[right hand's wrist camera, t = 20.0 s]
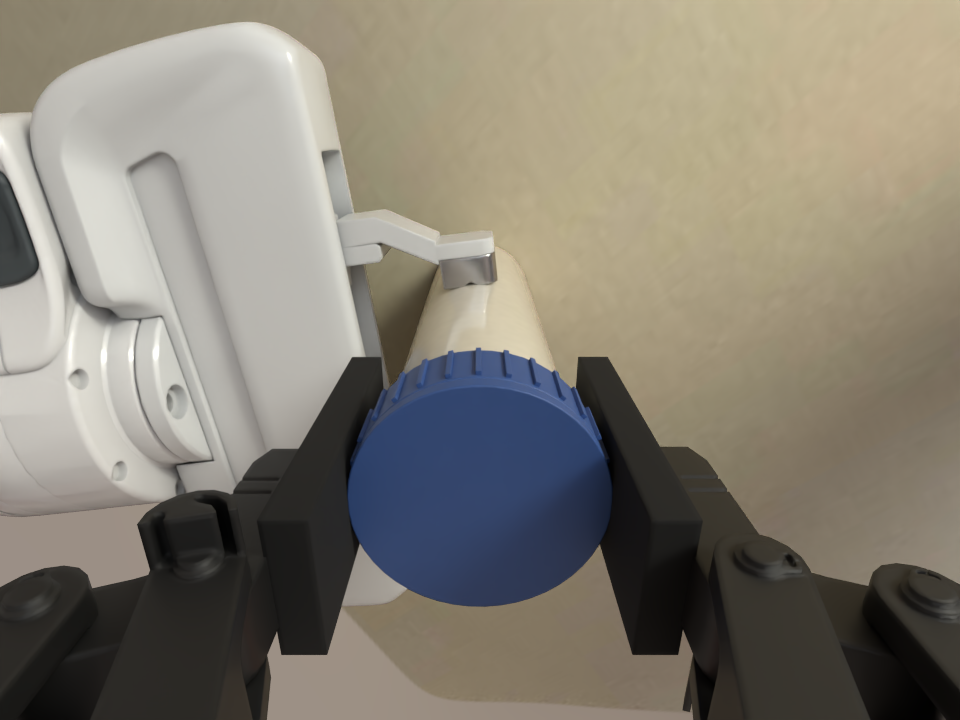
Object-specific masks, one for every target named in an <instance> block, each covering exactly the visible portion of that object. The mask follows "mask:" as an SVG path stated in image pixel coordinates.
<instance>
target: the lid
mask: <svg viewBox="0 0 960 720" xmlns="http://www.w3.org/2000/svg"><path fill="white" fill-rule="evenodd" d="M609 462H610V459H609V456H608V454H607V451H606V449H605V446H604V444H603V442H602V438H601V435H600V433H599V430H598V428H597V425H596V423H595V420H594V418H593V416H592V413H591V411H590V409H589V407H586V408H584V406H583V404H582V402H581V399H580V397H579V394H578V392H577V389H576V388H575V387H573V388H570V387H569V386H568V385H567V384H566V383H565V382H564V381H563V380H562V379H561V378H560V377H559V374H558V372H557V371H555V370H554V371H553V372H551V371H550V370H548V369H546V368H545V367H543V366H541V365H540V364H538V363H536V361H535V359H534V358H532V357H530V359H529V360H528V359H526V358H523V357H520V356H517V355H513V354H509V350H504V351H503V352H497V351H488V350H481V347H479V348H476V350H472V351H462V352H455V353H454V352H453V350H451V351H448V354H447V355H442V356H440V357H437V358H434V359H431V360H429V361H428V360H427V358H426V359H424V360H422V363H421V365H419V366H417V367H415V368H413V369H412V370H410V371H409V372H407V373H406V374H405V373H404V372H402V373H400V374H399V377H398V380H397V381H396V382H395V383H394V384H393V385H392V386H390V388H389V389H388V390H386V389H383V390H382V392H381V394H380V397H379V399H378V402H377V404H376V407H375V409H374V410H372V409H370V410H369V412H368V414H367V417H366V419H365V422H364V424H363V427H362V429H361V432H360V434H359V437H358V439H357V445H356V447H355V450H354V452H353V455H352V457H351V460H350V466H351V470H350V474H349V478H348V485H347V499H348V509H349V516H350V521H351V525H352V527H353V530H354V532H355V535H356V537H357V539H358V541H359V542H360V544H361V546H362V548H363V549H364V551H365V552H366V553H367V555H368V556H369V557H370V559H371V560H372V561H373V562H374V563H375V564H376V565H377V566H378V567H379V568H380V569H381V570H382V571H383V572H384V573H385V574H386V575H388V576H389V577H390V578H392V579H393V580H394V581H396V582H397V583H399V584H400V585H402V586H404V587H405V588H407V589H409V590H411V591H413V592H415V593H417V594H420V595H422V596H424V597H427V598H430V599H433V600H436V601H440V602H445V603H449V604H454V605H462V606H481V607H486V606H498V605H505V604H510V603H516V602H519V601H523V600H526V599H530V598H533V597H535V596H537V595H540V594H542V593H545V592H547V591H549V590H551V589H552V588H554V587H556V586H558V585H560V584H561V583H562V582H564V581H565V580H567V579H568V578H570V577H571V576H572V575H573V574H574V573H576V572H577V571H578V570H579V569H580V568H581V567H582V566H583V565H584V564H585V563H586V562H587V561H588V559H589V558H590V557H591V556H592V555H593V553H594V552H595V550H596V549H597V547H598V546H599V544H600V542H601V540H602V538H603V536H604V534H605V532H606V530H607V526H608V523H609V520H610V514H611V505H612V495H613V485H612V480H611V474H610V470H609V467H608V464H607V463H609Z"/></svg>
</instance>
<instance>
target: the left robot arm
mask: <svg viewBox="0 0 960 720" xmlns="http://www.w3.org/2000/svg"><path fill="white" fill-rule="evenodd" d="M391 247H392V248H395V249H398V250H400V251H403V252H405V253H408V254H410V255H413V256H416V257H418V258H421V259H423V260H426V261H429V262H431V263H434V264H436V265H439V264H440V269H441V275H442V281H443V287H444V290H445V289H454V288H461V287H465V286H466V285H467V284H468V283H469V282H472V283H474V284H476V285H486V284H491V283H494V282H496V281H497V280H498V277H497V267H496V257H495V248H494V241H493V232H492V231H485V230H482V231H474V232H466V233H458V234H450V235H442V236H440V233H439V232H438V231H436V230H433V229H431V228H429V227H426V226H424V225H422V224H420V223H417V222H415V221H413V220H410V219H408V218H406V217H403V216H401V215H399V214H396V213H394V212H392V211H389V210H387V209H382V210H374V211H367V212H359V213H354V209H353V204H352V199H351V194H350V189H349V184H348V180H347V175H346V170H345V165H344V160H343V155H342V150H341V145H340V141H339V136H338V131H337V126H336V121H335V116H334V112H333V107H332V102H331V97H330V92H329V87H328V82H327V77H326V73H325V68H324V66H323V64H322V62H321V60H320V59H319V58H318V57H317V56H316V55H315V54H314V53H312V52H311V51H310V50H309V49H307V48H306V47H305V46H304V45H302V44H301V43H300V42H298V41H297V40H296V39H294V38H293V37H291V36H290V35H288V34H286V33H285V32H283V31H281V30H279V29H277V28H275V27H272V26H269V25H266V24H263V23H257V22H235V23H228V24H221V25H215V26H210V27H205V28H201V29H196V30H191V31H186V32H182V33H178V34H174V35H170V36H166V37H161V38H158V39H154V40H151V41H147V42H144V43H140V44H137V45H133V46H130V47H127V48H124V49H121V50H118V51H115V52H112V53H109V54H106V55H103V56H100V57H98V58H95V59H92V60H89V61H87V62H85V63H82V64H80V65H78V66H75V67H73V68H71V69H70V70H68V71H66V72H64V73H63V74H61V75H60V76H59V77H57V78H56V79H54V80H53V81H52V82H51V83H50V84H49V85H48V86H47V87H46V88H45V89H44V91H43V92H42V94H41V95H40V96H39V98H38V100H37V102H36V104H35V107H34V109H33V112H18V113H0V515H1V516H14V517H26V516H40V515H49V514H58V513H68V512H77V511H86V510H96V509H104V508H111V507H121V506H131V505H140V504H150V503H159V502H164V501H166V500H168V499H171V498H173V497H175V496H177V495H180V494H185V493H189V492H193V491H197V490H217V491H222V492H226V493H229V494H233V490H234V489H235V487H236V486H237V484H238V483H239V482H240V481H242V477H243V476H244V474H245V473H246V472H247V470H248V469H249V467H250V466H251V464H252V463H253V462H254V461H255V460H257V459H258V458H260V457H261V456H263V455H264V454H265V453H267V452H268V451H270V450H271V449H299V447H300V445H301V444H302V442H303V440H304V439H305V437H306V435H307V433H308V432H309V430H310V428H311V427H312V425H313V423H314V421H315V420H316V418H317V416H318V415H319V413H320V411H321V409H322V408H323V406H324V404H325V403H326V401H327V399H328V397H329V396H330V394H331V392H332V391H333V389H334V387H335V385H336V384H337V382H338V380H339V379H340V377H341V375H342V373H343V372H344V370H345V368H346V367H347V365H348V363H349V361H350V360H351V358H352V357H381V358H382V372H383V386H384V389H386V390H388V389H389V388H390V384H389V379H388V374H387V369H386V364H385V359H384V355H383V350H382V345H381V340H380V335H379V330H378V325H377V321H376V316H375V311H374V306H373V301H372V296H371V291H370V287H369V282H368V277H367V272H366V267H365V264H371V263H378V262H380V261H381V260H382V259H383V257H384V256H385V255H386V254H387V252H388V251H389V250H390V248H391ZM406 590H407V588H405V587H404V586H402V585H400V584H399V583H397V582H396V581H394V580H393V579H392V578H390V577H389V576H388V575H386V574H385V573H384V572H383V571H382V570H381V569H380V568H379V567H378V566H377V565H376V564H375V563H374V562H373V561H372V560H371V559H370V557H369V556H368V555H367V553H366V552H365V551H364V549H363V548H362V546H361V544H360V545H359V548H358V552H357V555H356V559H355V562H354V565H353V569H352V572H351V575H350V579H349V582H348V586H347V589H346V592H345V596H344V599H343V603H342V606H368V605H380V604H386V603H389V602H391V601H393V600H394V599H396V598H397V597H398V596H400V595H401V594H402V593H403V592H405V591H406Z"/></svg>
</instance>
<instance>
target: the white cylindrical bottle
mask: <svg viewBox="0 0 960 720" xmlns="http://www.w3.org/2000/svg"><path fill="white" fill-rule="evenodd" d="M494 248H495V257H496V267H497V277H498V280H497V281H496V282H494V283H491V284H486V285H476V284H474V283H472V282H469V283H468V284H467V285H466V286H465V287H461V288H454V289H445V290H444V287H443V281H442V275H441V269H440V265H439V267H438V269H437V270H436V273H435V275H434V278H433V281H432V284H431V287H430V290H429V293H428V296H427V299H426V302H425V305H424V308H423V312H422V315H421V318H420V321H419V324H418V327H417V330H416V333H415V336H414V339H413V342H412V345H411V348H410V351H409V354H408V357H407V360H406V363H405V366H404V369H403V372H404V373H405V374H406V373H407V372H409V371H410V370H412V369H413V368H415V367H417V366H419V365H421V363H422V360H424V359H426V358H427V360H428V361H429V360H431V359H434V358H437V357H440V356H442V355H447V354H448V351H451V350H453V352H454V353H455V352H462V351H472V350H476V348H479V347H481V350H488V351H497V352H503V351H504V350H509V354H513V355H517V356H520V357H523V358H526V359H528V360H529V359H530V357H532V358H534V359H535V361H536V363H538V364H540V365H541V366H543V367H545V368H546V369H548V370H550V371H551V372H553V371H554V370H555V371H557V370H556V367H555V364H554V361H553V358H552V355H551V352H550V349H549V346H548V343H547V340H546V337H545V334H544V331H543V328H542V325H541V322H540V319H539V316H538V313H537V310H536V307H535V304H534V301H533V298H532V295H531V292H530V289H529V286H528V283H527V280H526V277H525V274H524V272H523V269H522V268H521V266H520V264H519V263H518V262H517V260H516V259H515V258H514V257H513V256H512V255H510V254H509V253H508V252H506V251H505V250H503V249H501V248H499V247H496V246H494Z"/></svg>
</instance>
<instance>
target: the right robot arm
mask: <svg viewBox="0 0 960 720" xmlns="http://www.w3.org/2000/svg"><path fill="white" fill-rule="evenodd" d="M383 389H384V386H383V372H382V358H381V357H352V358H351V360H350V361H349V363H348V365H347V367H346V368H345V370H344V372H343V373H342V375H341V377H340V379H339V380H338V382H337V384H336V385H335V387H334V389H333V391H332V392H331V394H330V396H329V397H328V399H327V401H326V403H325V404H324V406H323V408H322V409H321V411H320V413H319V415H318V416H317V418H316V420H315V421H314V423H313V425H312V427H311V428H310V430H309V432H308V433H307V435H306V437H305V439H304V440H303V442H302V444H301V445H300V447H299V449H271V450H270V451H268V452H267V453H265V454H264V455H263V456H261V457H260V458H258V459H257V460H255V461H254V462H253V463H252V464H251V466H250V467H249V469H248V470H247V472H246V473H245V474H244V476H243V477H242V481H240V482H239V483H238V484H237V486H236V487H235V489H234V490H233V494H229V493H226V492H222V491H217V490H197V491H193V492H189V493H185V494H180V495H177V496H175V497H173V498H171V499H168V500H166V501H164V502H161V503H160V504H158V505H157V506H155V507H154V508H153V509H151V510H150V511H148V512H147V513H146V514H145V515H144V516H143V518H142V519H141V520H140V522H139V523H138V524H137V525H138V529H139V532H140V536H141V539H142V543H143V546H144V550H145V553H146V557H147V560H148V564H149V567H150V572H149V575H147V576H144V577H140V578H136V579H133V580H128V581H124V582H119V583H115V584H110V585H106V586H101V587H97V588H92V587H91V584H90V581H89V578H88V575H87V574H86V573H85V572H83V571H82V570H81V569H80V568H76V567H70V566H58V567H51V568H44V569H41V570H38V571H35V572H31V573H28V574H26V575H23V576H21V577H19V578H17V579H15V580H13V581H11V582H9V583H7V584H6V585H4V586H2V587H0V720H267V711H268V701H269V691H270V681H271V675H270V668H269V662H268V657H267V654H268V652H269V649H270V647H271V644H272V642H273V639H274V637H275V635H276V632H277V633H278V639H279V644H280V649H281V654H282V655H327V653H328V650H329V647H330V643H331V640H332V636H333V633H334V630H335V626H336V623H337V619H338V616H339V612H340V609H341V606H342V603H343V599H344V596H345V592H346V589H347V586H348V582H349V579H350V575H351V572H352V569H353V565H354V562H355V559H356V555H357V552H358V548H359V545H360V542H359V541H358V539H357V537H356V535H355V532H354V530H353V527H352V525H351V521H350V516H349V509H348V499H347V485H348V478H349V474H350V470H351V466H350V460H351V457H352V455H353V452H354V450H355V447H356V445H357V439H358V437H359V434H360V432H361V429H362V427H363V424H364V422H365V419H366V417H367V414H368V412H369V410H370V409H372V410H374V409H375V407H376V404H377V402H378V399H379V397H380V394H381V392H382V390H383ZM576 389H577V392H578V394H579V397H580V399H581V402H582V404H583V406H584V408H586V407H589V409H590V411H591V413H592V416H593V418H594V420H595V423H596V425H597V428H598V430H599V433H600V435H601V438H602V442H603V444H604V446H605V449H606V451H607V454H608V456H609V459H610V462H609V463H607V464H608V467H609V470H610V474H611V480H612V485H613V495H612V505H611V514H610V520H609V523H608V526H607V530H606V532H605V534H604V536H603V538H602V540H601V542H600V546H601V549H602V553H603V556H604V560H605V563H606V566H607V570H608V573H609V577H610V580H611V583H612V587H613V590H614V594H615V597H616V600H617V604H618V607H619V610H620V614H621V617H622V621H623V624H624V627H625V631H626V634H627V638H628V641H629V644H630V648H631V651H632V654H633V655H678V653H679V647H680V642H681V637H682V631H683V630H684V633H685V635H686V638H687V640H688V642H689V645H690V647H691V650H692V652H693V657H692V662H691V667H690V672H689V677H688V683H687V688H686V693H685V698H684V704H683V710H684V711H688V712H690V709H691V704H692V710H693V720H960V584H958V583H956V582H954V581H952V580H950V579H948V578H946V577H944V576H942V575H941V574H939V573H936V572H933V571H931V570H927V569H924V568H921V567H918V566H913V565H905V564H898V563H895V564H888V565H881V566H880V567H879V568H878V569H876V570H875V571H874V572H873V574H872V577H871V580H870V583H869V585H868V586H865V585H860V584H856V583H851V582H847V581H842V580H838V579H833V578H829V577H825V576H821V575H818V574H814V573H811V571H810V569H809V568H808V566H807V565H806V563H805V562H804V560H803V559H802V557H801V556H799V555H798V554H797V553H796V552H794V551H793V550H792V549H791V548H789V547H788V546H786V545H784V544H782V543H780V542H778V541H776V540H774V539H772V538H769V537H766V536H762V535H759V534H758V532H757V531H756V529H755V528H754V527H753V525H752V524H751V522H750V521H749V520H748V518H747V517H746V515H745V514H744V512H743V511H742V510H741V508H740V507H739V505H738V504H737V502H736V501H735V500H734V498H733V497H732V495H731V494H730V493H729V492H727V488H726V487H725V485H724V484H723V483H722V481H721V480H720V479H718V476H717V474H716V473H715V471H714V470H713V468H712V467H711V466H710V464H709V463H708V461H707V460H706V459H704V458H703V457H701V456H700V455H698V454H697V453H696V452H694V451H693V450H691V449H690V448H688V447H660V446H659V444H658V443H657V441H656V439H655V438H654V436H653V434H652V432H651V431H650V429H649V427H648V426H647V424H646V422H645V420H644V419H643V417H642V415H641V414H640V412H639V410H638V408H637V407H636V405H635V403H634V402H633V400H632V398H631V396H630V395H629V393H628V391H627V390H626V388H625V386H624V384H623V383H622V381H621V379H620V378H619V376H618V374H617V372H616V371H615V369H614V367H613V366H612V364H611V362H610V360H609V359H608V357H578V367H577V381H576Z"/></svg>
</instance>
